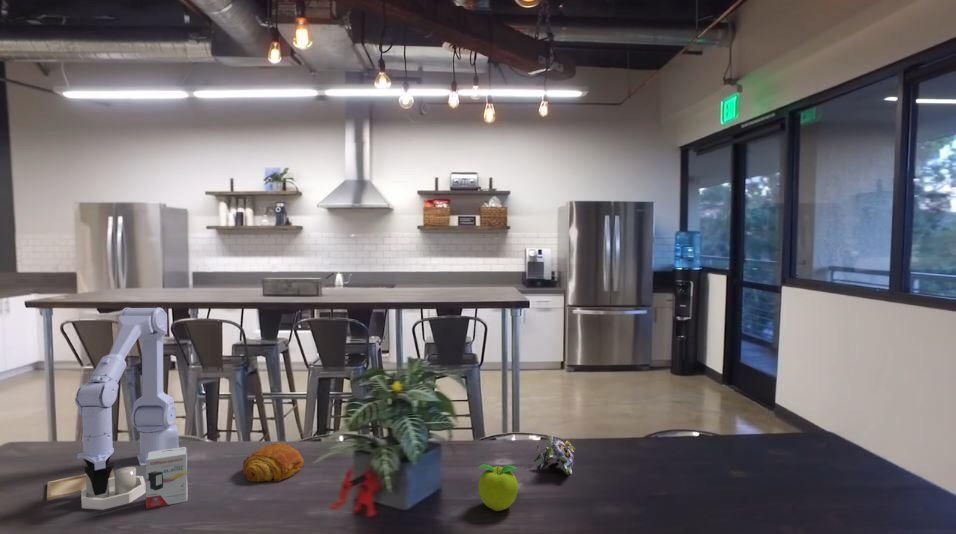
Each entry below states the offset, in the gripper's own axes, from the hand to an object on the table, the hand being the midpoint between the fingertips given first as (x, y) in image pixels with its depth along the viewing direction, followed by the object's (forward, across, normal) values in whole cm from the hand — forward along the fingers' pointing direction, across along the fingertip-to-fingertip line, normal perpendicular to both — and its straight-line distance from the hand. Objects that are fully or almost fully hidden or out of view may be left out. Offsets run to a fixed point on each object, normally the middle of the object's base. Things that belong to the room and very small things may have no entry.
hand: (99, 488), depth 128 cm
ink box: (+3, +10, +13) cm, 16 cm away
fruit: (+3, +60, +74) cm, 95 cm away
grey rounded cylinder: (+2, 0, +5) cm, 6 cm away
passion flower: (+3, +54, +99) cm, 113 cm away
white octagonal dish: (+3, 0, +3) cm, 4 cm away
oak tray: (+3, -12, -3) cm, 13 cm away
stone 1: (+2, 0, 0) cm, 2 cm away
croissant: (+3, +8, +38) cm, 39 cm away
